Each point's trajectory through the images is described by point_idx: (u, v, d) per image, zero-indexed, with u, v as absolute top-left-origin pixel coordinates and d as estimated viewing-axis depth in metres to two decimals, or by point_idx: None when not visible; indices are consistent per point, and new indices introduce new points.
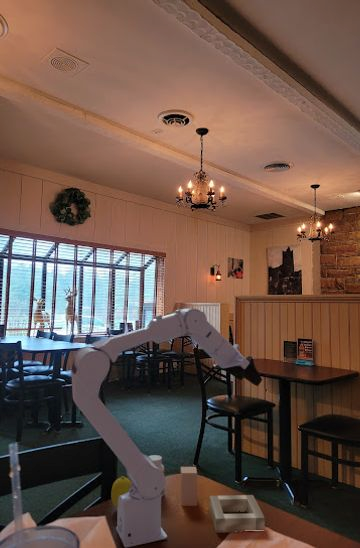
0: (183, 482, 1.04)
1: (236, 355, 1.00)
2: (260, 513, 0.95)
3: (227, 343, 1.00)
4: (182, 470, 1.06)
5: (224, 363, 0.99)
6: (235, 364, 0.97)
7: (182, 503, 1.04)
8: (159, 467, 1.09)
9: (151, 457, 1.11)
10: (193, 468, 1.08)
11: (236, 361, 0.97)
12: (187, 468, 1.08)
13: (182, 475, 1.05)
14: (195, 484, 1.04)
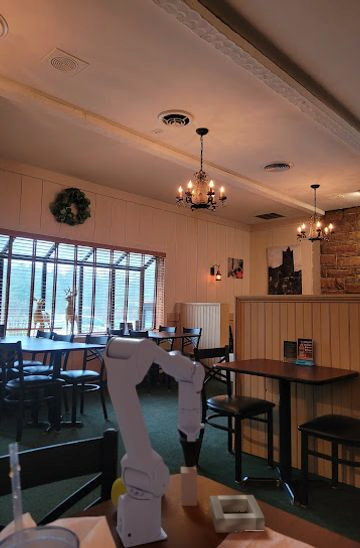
0: (183, 483, 1.04)
1: (194, 429, 1.05)
2: (260, 513, 0.95)
3: (197, 414, 1.06)
4: (182, 470, 1.06)
5: (181, 425, 1.06)
6: (185, 431, 1.02)
7: (182, 503, 1.04)
8: None
9: None
10: (193, 468, 1.08)
11: (188, 431, 1.03)
12: (187, 468, 1.08)
13: (182, 475, 1.05)
14: (195, 484, 1.04)
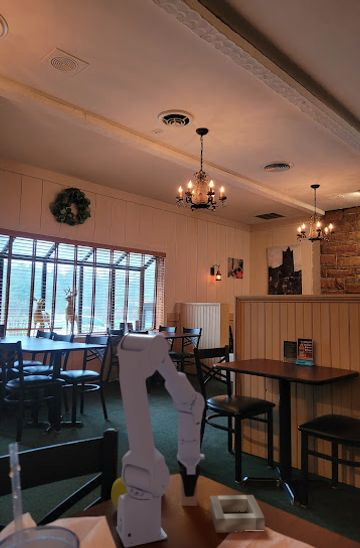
0: None
1: (194, 460, 1.04)
2: (260, 513, 0.95)
3: (196, 445, 1.05)
4: None
5: (181, 456, 1.05)
6: (185, 464, 1.02)
7: (182, 503, 1.04)
8: None
9: None
10: None
11: (188, 463, 1.02)
12: None
13: None
14: None
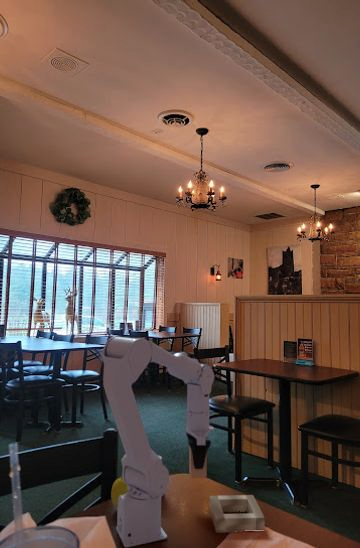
0: (192, 455, 1.03)
1: (203, 432, 1.03)
2: (260, 513, 0.95)
3: (206, 417, 1.04)
4: None
5: (190, 428, 1.04)
6: (195, 435, 1.00)
7: (191, 475, 1.03)
8: None
9: None
10: None
11: (198, 434, 1.01)
12: None
13: None
14: None
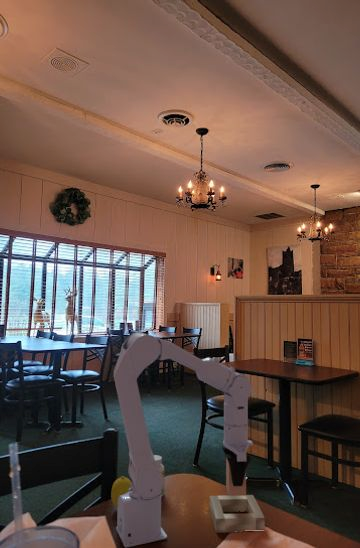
0: None
1: (242, 447, 0.96)
2: (260, 513, 0.95)
3: (245, 431, 0.97)
4: None
5: (228, 442, 0.97)
6: (234, 450, 0.94)
7: (230, 493, 0.96)
8: (159, 467, 1.09)
9: None
10: None
11: (237, 450, 0.94)
12: None
13: None
14: None
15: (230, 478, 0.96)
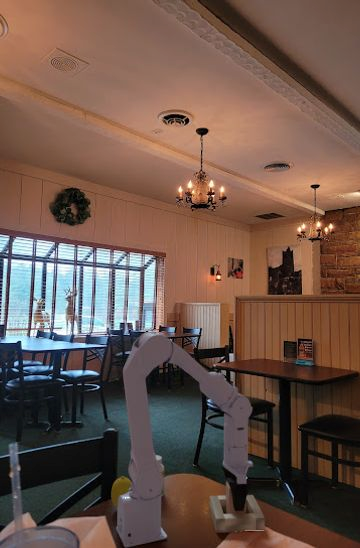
0: (231, 499, 0.96)
1: (242, 468, 0.96)
2: (260, 513, 0.95)
3: (245, 452, 0.97)
4: None
5: (228, 463, 0.97)
6: (234, 472, 0.93)
7: None
8: (159, 467, 1.09)
9: None
10: None
11: (237, 471, 0.94)
12: None
13: (230, 491, 0.96)
14: None
15: (230, 506, 0.96)
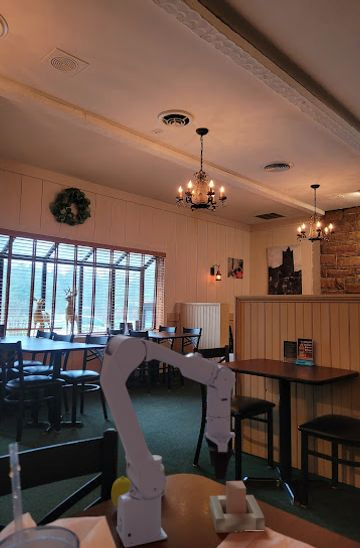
0: (231, 499, 0.96)
1: (224, 438, 0.97)
2: (260, 513, 0.95)
3: (227, 422, 0.99)
4: (229, 485, 0.98)
5: (210, 433, 0.98)
6: (216, 441, 0.95)
7: None
8: (159, 467, 1.09)
9: None
10: (240, 483, 0.99)
11: (219, 440, 0.95)
12: (233, 483, 0.99)
13: (230, 491, 0.96)
14: (244, 500, 0.96)
15: (230, 506, 0.96)
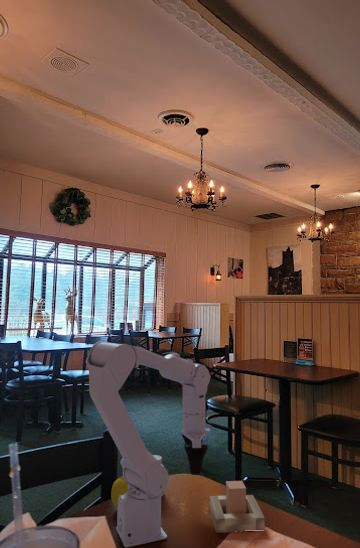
0: (231, 499, 0.96)
1: (199, 434, 1.00)
2: (260, 513, 0.95)
3: (202, 419, 1.01)
4: (229, 485, 0.98)
5: (185, 430, 1.01)
6: (190, 437, 0.97)
7: None
8: None
9: None
10: (240, 483, 0.99)
11: (193, 437, 0.98)
12: (233, 483, 0.99)
13: (230, 491, 0.96)
14: (244, 500, 0.96)
15: (230, 506, 0.96)
